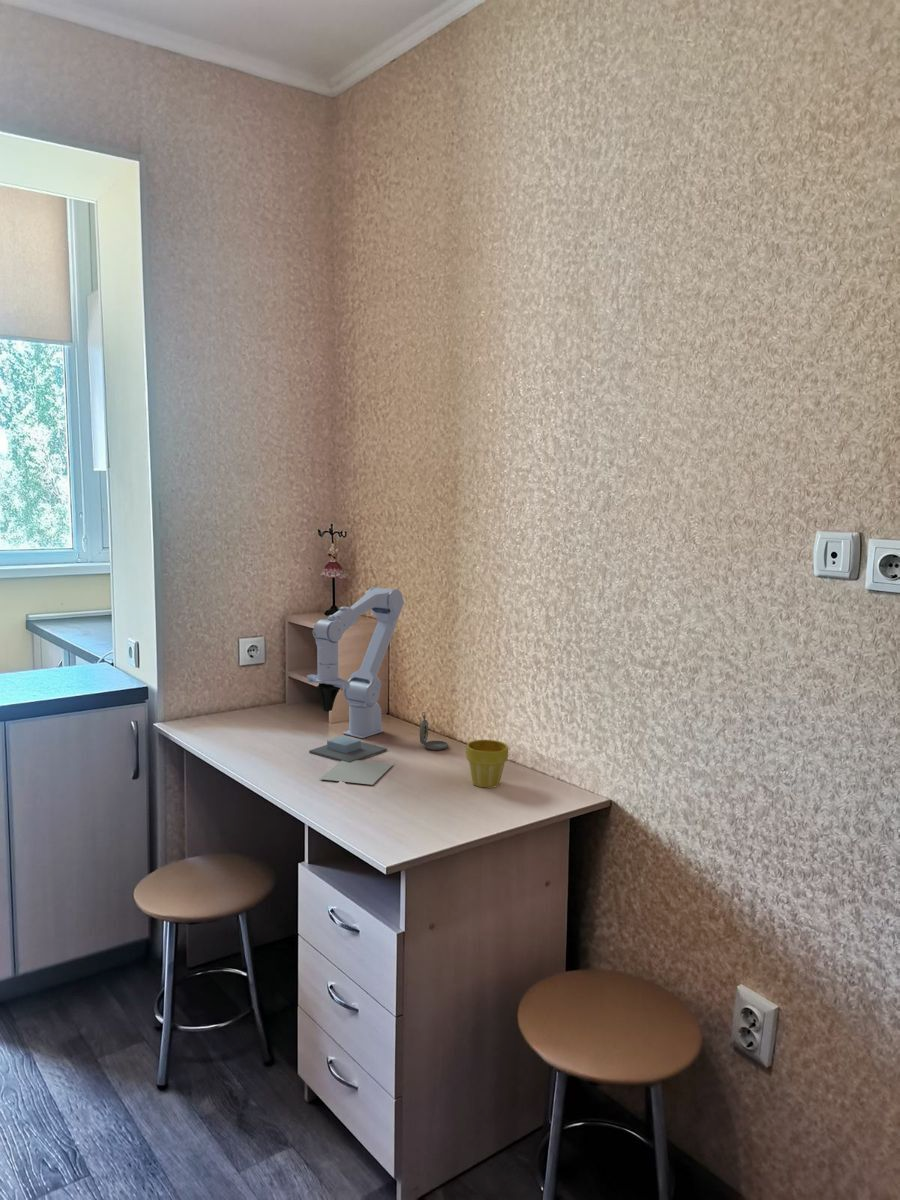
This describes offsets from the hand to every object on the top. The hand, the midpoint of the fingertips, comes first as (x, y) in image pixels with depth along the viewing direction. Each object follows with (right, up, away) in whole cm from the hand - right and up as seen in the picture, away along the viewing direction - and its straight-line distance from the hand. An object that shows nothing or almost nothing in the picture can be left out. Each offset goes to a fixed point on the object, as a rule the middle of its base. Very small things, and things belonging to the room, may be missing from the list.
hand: (327, 710), depth 242 cm
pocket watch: (+29, -11, +1) cm, 31 cm away
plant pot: (+43, -15, -28) cm, 54 cm away
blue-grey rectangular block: (+8, -9, -6) cm, 13 cm away
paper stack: (+14, -14, -27) cm, 34 cm away
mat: (+6, -11, -5) cm, 13 cm away
